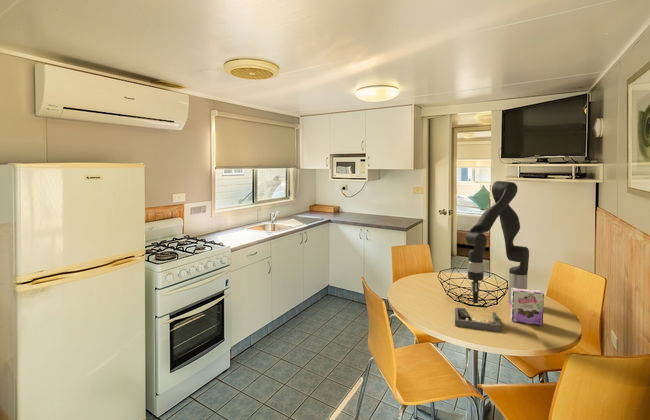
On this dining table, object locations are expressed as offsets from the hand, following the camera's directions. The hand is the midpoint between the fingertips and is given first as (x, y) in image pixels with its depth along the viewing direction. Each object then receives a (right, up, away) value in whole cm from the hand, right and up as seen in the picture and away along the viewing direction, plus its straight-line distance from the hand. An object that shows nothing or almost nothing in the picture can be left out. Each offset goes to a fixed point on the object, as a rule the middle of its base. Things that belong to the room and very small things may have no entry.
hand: (475, 302), depth 176 cm
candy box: (+24, -9, -5) cm, 26 cm away
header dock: (-2, -8, -5) cm, 10 cm away
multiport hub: (-5, -9, +4) cm, 11 cm away
